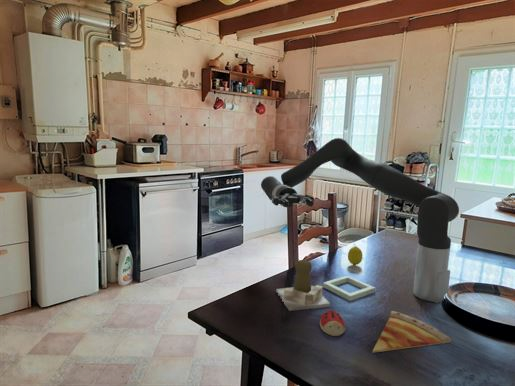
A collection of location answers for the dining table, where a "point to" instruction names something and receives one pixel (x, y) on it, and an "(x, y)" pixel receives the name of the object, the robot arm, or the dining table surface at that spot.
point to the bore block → (349, 296)
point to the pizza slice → (407, 334)
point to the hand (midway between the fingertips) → (299, 204)
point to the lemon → (355, 255)
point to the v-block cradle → (303, 298)
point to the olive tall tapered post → (303, 276)
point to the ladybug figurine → (332, 323)
